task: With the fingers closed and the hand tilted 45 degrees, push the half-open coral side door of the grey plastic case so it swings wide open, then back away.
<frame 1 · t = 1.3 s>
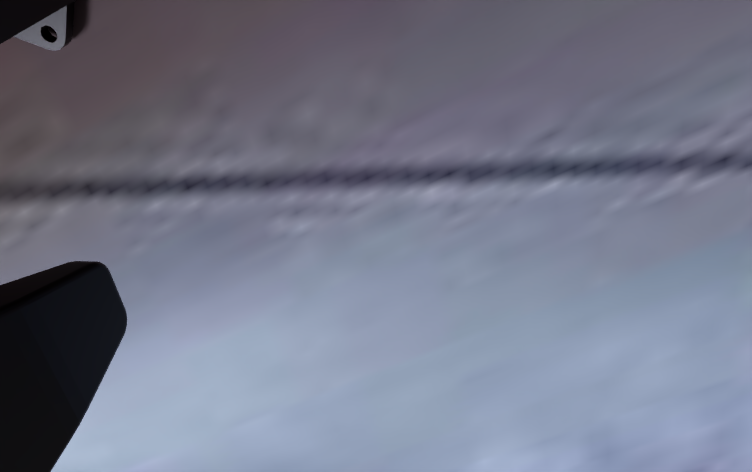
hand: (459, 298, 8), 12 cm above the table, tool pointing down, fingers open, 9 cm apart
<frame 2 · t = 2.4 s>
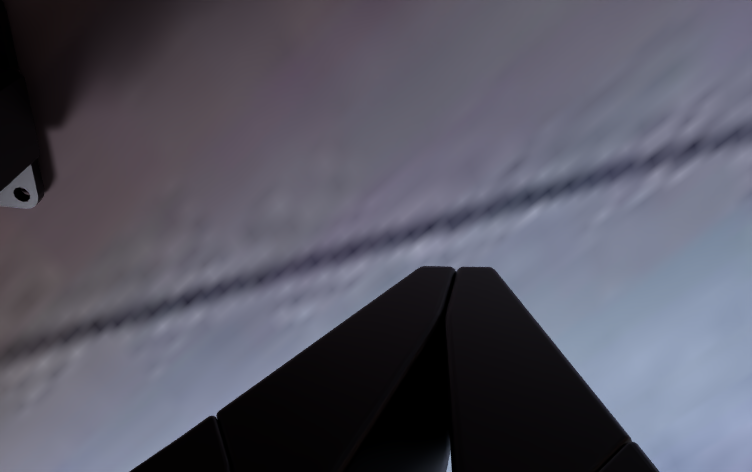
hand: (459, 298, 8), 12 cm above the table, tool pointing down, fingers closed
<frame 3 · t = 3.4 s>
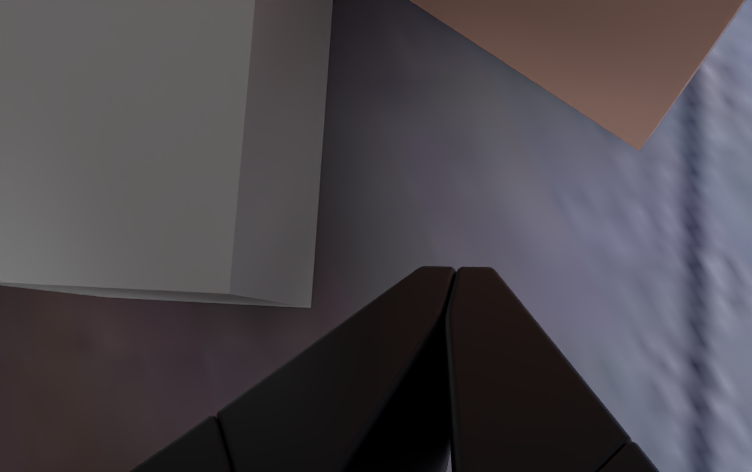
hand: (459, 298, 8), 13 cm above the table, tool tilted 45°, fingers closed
case: (222, 121, 23), on the table
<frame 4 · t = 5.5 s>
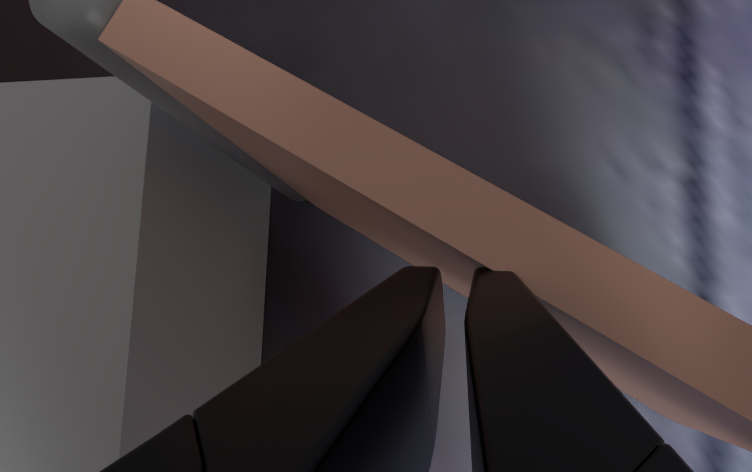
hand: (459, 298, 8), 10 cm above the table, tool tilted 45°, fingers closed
case: (138, 383, 19), on the table
side door: (444, 245, 12), point 5 cm above the table, hinge at 59.6°, touching gripper
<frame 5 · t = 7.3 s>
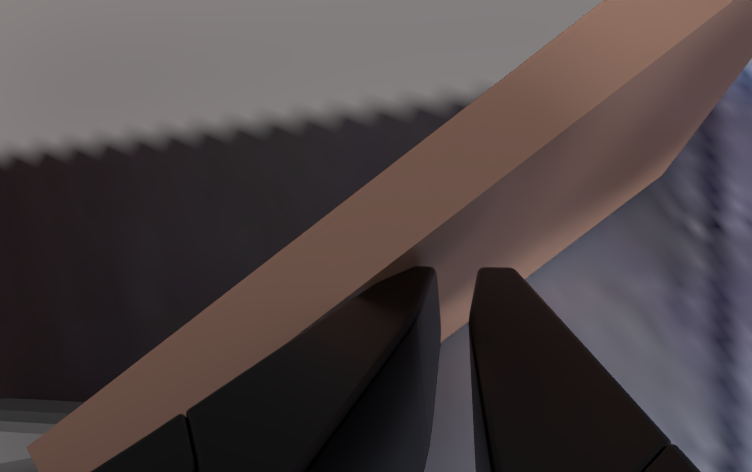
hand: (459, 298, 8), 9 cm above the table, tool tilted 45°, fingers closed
side door: (434, 283, 12), point 5 cm above the table, hinge at 128.3°, touching gripper
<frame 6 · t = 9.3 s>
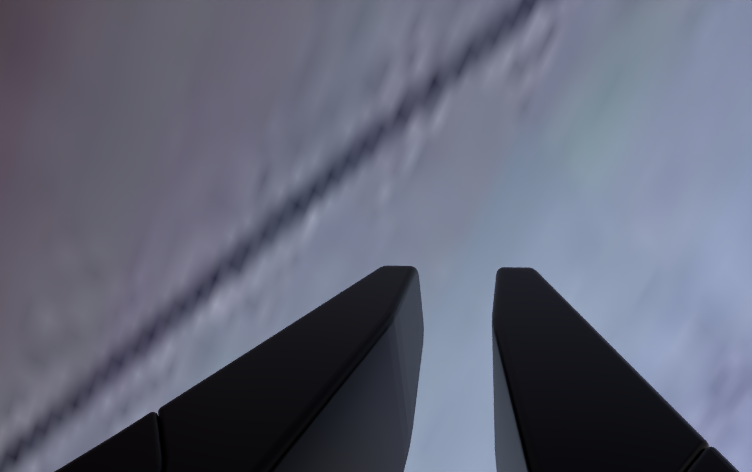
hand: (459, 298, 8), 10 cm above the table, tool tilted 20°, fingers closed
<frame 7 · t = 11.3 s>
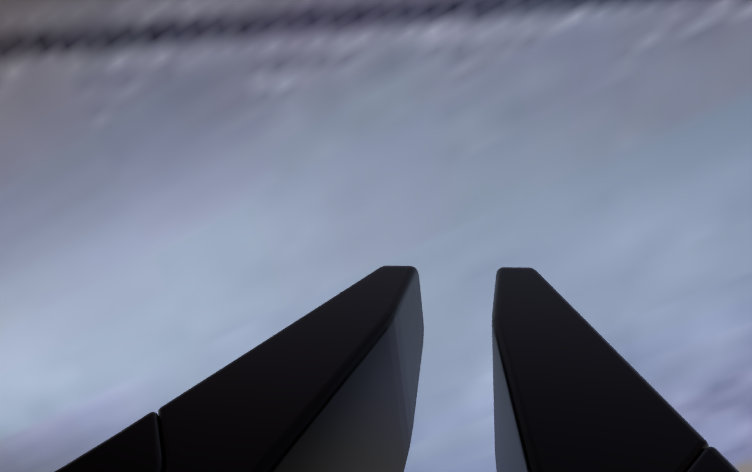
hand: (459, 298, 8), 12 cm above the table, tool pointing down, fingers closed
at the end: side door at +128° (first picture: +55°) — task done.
